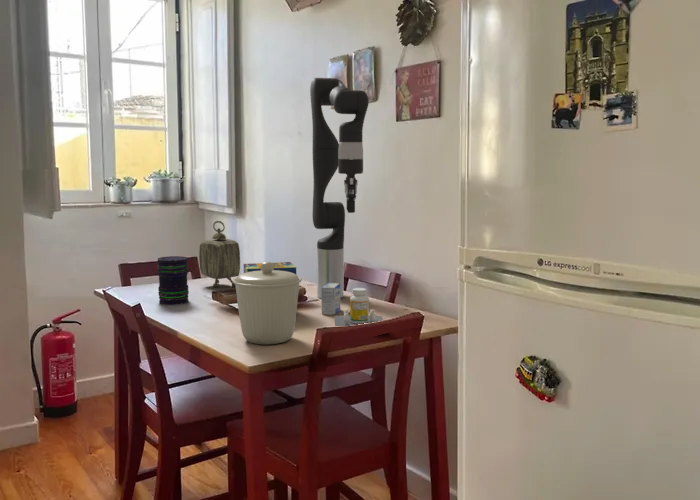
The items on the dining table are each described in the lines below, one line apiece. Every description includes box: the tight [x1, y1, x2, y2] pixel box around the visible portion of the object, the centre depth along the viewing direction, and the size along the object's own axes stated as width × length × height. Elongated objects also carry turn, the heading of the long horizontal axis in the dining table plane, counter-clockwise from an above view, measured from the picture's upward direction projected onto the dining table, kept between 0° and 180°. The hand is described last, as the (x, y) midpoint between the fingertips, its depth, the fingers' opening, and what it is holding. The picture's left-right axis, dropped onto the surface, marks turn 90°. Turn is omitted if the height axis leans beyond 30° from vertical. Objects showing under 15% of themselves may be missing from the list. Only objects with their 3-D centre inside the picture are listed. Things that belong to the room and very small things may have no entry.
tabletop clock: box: [198, 220, 241, 288], centre depth 255 cm, size 14×9×25 cm, turn 46°
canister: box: [232, 261, 303, 345], centre depth 179 cm, size 18×18×21 cm
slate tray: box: [334, 309, 384, 327], centre depth 193 cm, size 16×14×4 cm
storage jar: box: [157, 255, 190, 306], centre depth 227 cm, size 10×10×15 cm
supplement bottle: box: [349, 287, 370, 324], centre depth 193 cm, size 5×5×10 cm
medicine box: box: [320, 283, 341, 316], centre depth 213 cm, size 8×4×9 cm, turn 168°
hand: (350, 211), depth 205 cm, fingers open, 8 cm apart
